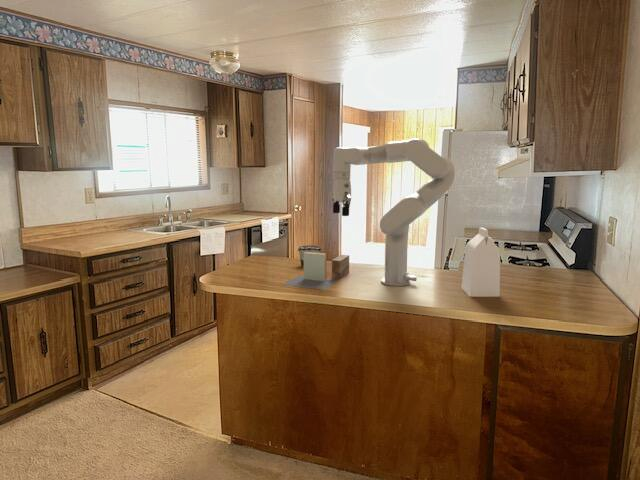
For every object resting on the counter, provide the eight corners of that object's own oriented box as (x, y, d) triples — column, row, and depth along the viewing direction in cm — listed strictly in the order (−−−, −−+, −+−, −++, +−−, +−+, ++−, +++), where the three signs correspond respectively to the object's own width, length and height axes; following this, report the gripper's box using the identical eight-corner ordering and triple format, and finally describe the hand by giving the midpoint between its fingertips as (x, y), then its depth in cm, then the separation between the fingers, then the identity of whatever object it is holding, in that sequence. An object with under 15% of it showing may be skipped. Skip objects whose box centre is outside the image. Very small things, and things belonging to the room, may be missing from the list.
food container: (323, 264, 233) (323, 245, 231) (322, 266, 227) (322, 247, 225) (299, 263, 234) (299, 244, 232) (298, 266, 228) (297, 247, 226)
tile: (326, 279, 201) (326, 253, 198) (324, 281, 198) (324, 254, 196) (306, 277, 205) (305, 251, 202) (303, 279, 202) (303, 252, 200)
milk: (461, 287, 189) (464, 226, 184) (489, 287, 188) (492, 226, 184) (469, 296, 177) (473, 231, 172) (499, 296, 177) (503, 231, 172)
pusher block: (349, 274, 213) (349, 255, 211) (340, 280, 202) (340, 260, 201) (341, 273, 215) (341, 254, 213) (331, 279, 204) (331, 260, 202)
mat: (339, 280, 201) (339, 279, 201) (324, 291, 186) (324, 289, 186) (299, 276, 209) (299, 275, 209) (281, 286, 194) (281, 284, 194)
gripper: (358, 177, 193) (357, 216, 196) (341, 174, 208) (340, 211, 212) (342, 177, 190) (341, 217, 193) (326, 174, 206) (325, 212, 209)
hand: (340, 214), depth 203 cm, fingers open, 9 cm apart
